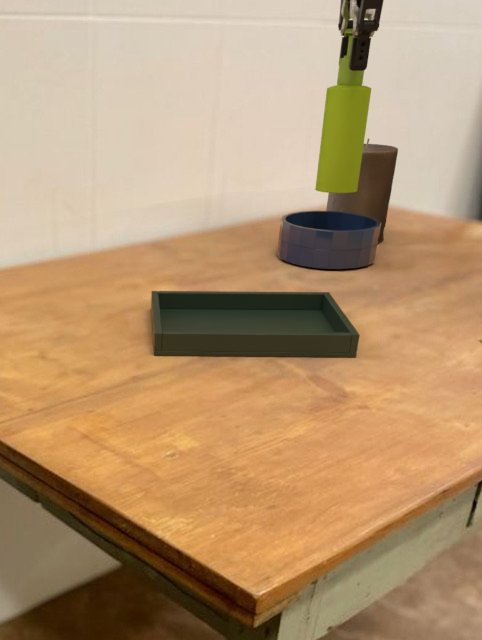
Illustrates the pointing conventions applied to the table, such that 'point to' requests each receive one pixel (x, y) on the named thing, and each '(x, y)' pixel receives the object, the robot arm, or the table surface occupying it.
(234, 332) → the tray
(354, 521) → the table surface
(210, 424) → the table surface
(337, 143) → the soap dispenser
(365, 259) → the bowl
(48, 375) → the table surface
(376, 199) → the pillar candle
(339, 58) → the robot arm
